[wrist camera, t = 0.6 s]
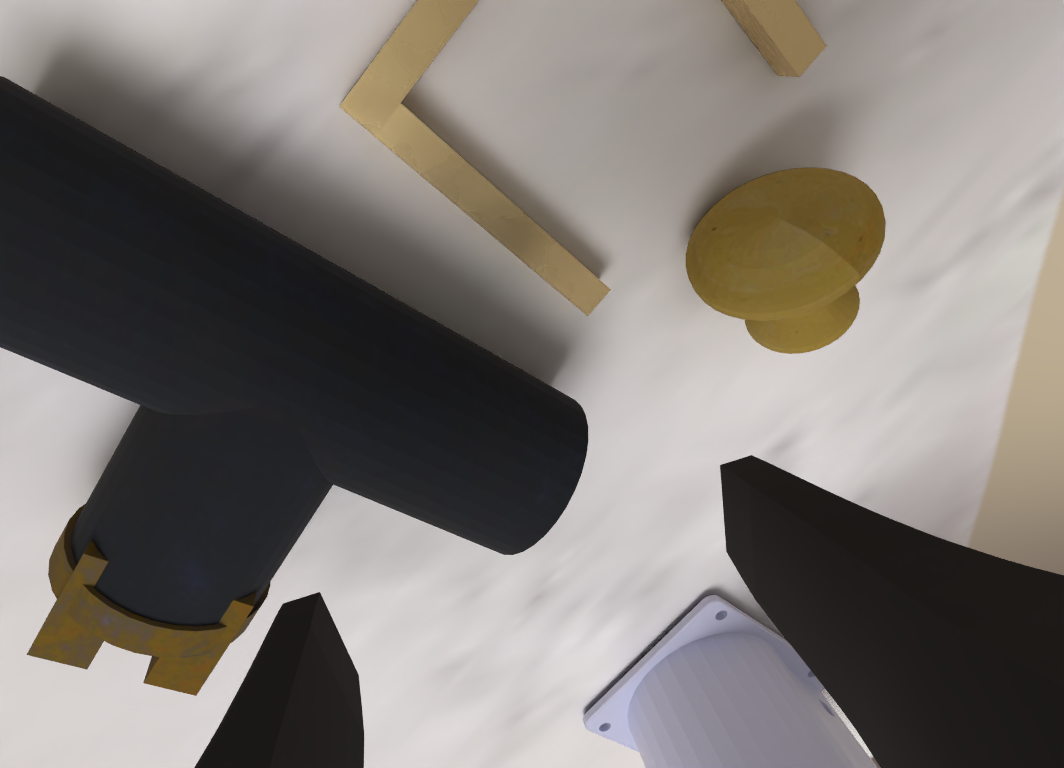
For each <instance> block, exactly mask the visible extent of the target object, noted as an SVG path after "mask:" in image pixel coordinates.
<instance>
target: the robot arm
mask: <svg viewBox="0 0 1064 768" xmlns="http://www.w3.org/2000/svg"><path fill="white" fill-rule="evenodd" d="M720 469H721V483H722V496H723V510H724V523H725V537H726V550H727V553H728V555H729V557H730V558H731V560H732V562H733V563H734V565H735V567H736V569H737V570H738V572H739V574H740V575H741V577H742V579H743V580H744V582H745V584H746V585H747V587H748V588H749V590H750V592H751V593H752V595H753V597H754V598H755V600H756V601H757V602H758V604H759V605H760V606H761V608H762V609H763V610H764V611H765V613H766V614H767V615H768V617H769V618H770V619H771V620H772V622H773V623H774V624H775V626H776V627H777V628H778V629H779V631H780V632H781V633H782V635H783V636H784V637H785V638H786V640H785V639H784V638H782V637H781V636H779V635H778V634H776V633H774V632H773V631H771V630H770V629H768V628H767V627H765V626H764V625H762V624H761V623H759V622H758V621H756V620H754V619H753V618H751V617H750V616H748V615H747V614H745V613H744V612H742V611H741V610H739V609H738V608H736V607H734V606H733V605H731V604H730V603H728V602H727V601H725V600H724V599H722V598H721V597H719V596H717V595H710V596H707V597H705V598H704V599H703V600H702V601H701V602H700V603H699V604H697V605H696V606H695V607H694V608H693V609H692V610H691V611H690V612H689V613H688V614H687V615H686V616H685V617H684V618H683V619H682V620H681V621H680V622H679V623H678V624H677V625H676V626H675V627H674V628H673V629H672V630H671V631H670V632H669V633H668V634H667V635H666V636H665V637H664V638H663V639H662V640H660V641H659V642H658V643H657V644H656V645H655V646H654V647H653V648H652V649H651V650H650V651H649V652H648V653H647V654H646V655H645V656H644V657H643V658H642V659H641V660H640V661H639V662H638V663H637V664H636V665H635V666H634V667H633V668H632V669H631V670H630V671H629V672H628V673H627V674H626V675H624V676H623V677H622V678H621V679H620V680H619V681H618V682H617V683H616V684H615V685H614V686H613V687H612V688H611V689H610V690H609V691H608V692H607V693H606V694H605V695H604V696H603V697H602V698H601V699H600V700H599V701H598V702H597V703H596V704H595V705H594V706H593V707H592V708H591V709H590V710H589V711H587V713H586V714H585V715H584V717H583V721H584V724H585V727H586V729H587V730H589V731H591V732H593V733H596V734H598V735H600V736H603V737H605V738H607V739H610V740H612V741H614V742H617V743H619V744H621V745H624V746H626V747H628V748H630V749H633V750H635V751H637V752H640V755H641V757H642V760H643V762H644V764H645V767H646V768H877V767H876V765H875V764H874V763H873V761H872V760H871V759H870V757H869V756H868V755H867V753H866V752H865V751H864V749H863V748H862V746H861V745H860V744H859V742H858V741H857V740H856V738H855V737H854V736H853V734H852V733H851V732H850V730H849V729H848V728H847V726H846V725H845V724H844V722H843V721H842V720H841V718H840V717H839V716H838V714H837V713H836V712H835V710H834V709H833V708H832V706H831V705H830V704H829V702H828V701H827V700H826V698H825V697H824V696H823V694H822V693H821V691H822V690H823V689H824V688H825V689H826V690H827V691H828V693H829V694H830V695H831V696H832V698H833V699H834V700H835V702H836V703H837V704H838V705H839V707H840V708H841V710H842V711H843V712H844V714H845V715H846V716H847V718H848V719H849V720H850V722H851V723H852V725H853V726H854V727H855V729H856V730H857V732H858V733H859V735H860V736H861V738H862V739H863V741H864V742H865V744H866V746H867V747H868V749H869V750H870V752H871V753H872V755H873V756H874V758H875V759H876V761H877V762H878V764H879V766H880V767H881V768H1064V576H1063V575H1060V574H1056V573H1052V572H1048V571H1044V570H1040V569H1036V568H1032V567H1029V566H1025V565H1022V564H1018V563H1015V562H1012V561H1008V560H1005V559H1001V558H998V557H995V556H992V555H989V554H986V553H983V552H980V551H977V550H974V549H971V548H967V547H964V546H961V545H958V544H955V543H952V542H949V541H947V540H944V539H941V538H938V537H935V536H933V535H930V534H927V533H925V532H922V531H920V530H917V529H915V528H912V527H910V526H907V525H905V524H902V523H900V522H897V521H894V520H892V519H889V518H887V517H885V516H882V515H880V514H878V513H875V512H873V511H871V510H868V509H866V508H864V507H861V506H859V505H857V504H855V503H852V502H850V501H848V500H846V499H844V498H841V497H839V496H837V495H835V494H833V493H831V492H828V491H826V490H824V489H822V488H820V487H818V486H816V485H814V484H812V483H809V482H807V481H805V480H803V479H801V478H799V477H797V476H795V475H793V474H791V473H789V472H786V471H784V470H782V469H780V468H778V467H776V466H774V465H772V464H770V463H768V462H765V461H763V460H761V459H759V458H756V457H754V456H752V455H751V456H748V457H745V458H742V459H738V460H735V461H732V462H729V463H726V464H723V465H720ZM195 768H364V728H363V716H362V705H361V695H360V685H359V676H358V673H357V671H356V669H355V666H354V664H353V662H352V660H351V658H350V656H349V654H348V651H347V649H346V647H345V645H344V643H343V641H342V639H341V636H340V634H339V632H338V630H337V628H336V626H335V624H334V621H333V619H332V617H331V615H330V613H329V611H328V609H327V606H326V604H325V602H324V600H323V598H322V596H321V594H320V592H318V593H315V594H312V595H309V596H306V597H303V598H300V599H296V600H293V601H290V602H287V603H284V604H283V605H282V606H281V608H280V610H279V611H278V613H277V615H276V617H275V619H274V621H273V623H272V625H271V627H270V629H269V631H268V633H267V635H266V637H265V639H264V641H263V643H262V645H261V647H260V649H259V651H258V653H257V655H256V657H255V659H254V661H253V663H252V665H251V667H250V669H249V671H248V673H247V675H246V677H245V679H244V681H243V683H242V684H241V686H240V688H239V690H238V692H237V694H236V696H235V697H234V699H233V701H232V703H231V705H230V707H229V709H228V710H227V712H226V714H225V716H224V718H223V720H222V722H221V723H220V725H219V727H218V729H217V731H216V732H215V734H214V736H213V738H212V739H211V741H210V743H209V744H208V746H207V748H206V749H205V751H204V753H203V754H202V756H201V758H200V759H199V761H198V763H197V764H196V766H195Z"/></svg>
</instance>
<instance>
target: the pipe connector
mask: <svg viewBox="0 0 1064 768" xmlns="http://www.w3.org/2000/svg"><path fill="white" fill-rule="evenodd" d="M0 347H1V348H4V349H6V350H9V351H11V352H13V353H16V354H18V355H21V356H23V357H26V358H28V359H30V360H33V361H35V362H38V363H40V364H43V365H45V366H47V367H50V368H52V369H55V370H57V371H60V372H62V373H64V374H67V375H69V376H72V377H74V378H77V379H79V380H81V381H84V382H86V383H89V384H91V385H94V386H96V387H98V388H101V389H103V390H106V391H108V392H111V393H113V394H115V395H118V396H120V397H123V398H125V399H128V400H130V401H132V402H135V403H137V404H140V407H139V409H138V411H137V413H136V414H135V416H134V418H133V420H132V422H131V423H130V425H129V427H128V429H127V431H126V432H125V434H124V436H123V438H122V440H121V442H120V443H119V445H118V447H117V449H116V451H115V452H114V454H113V456H112V458H111V460H110V461H109V463H108V465H107V467H106V469H105V470H104V472H103V474H102V476H101V478H100V480H99V481H98V483H97V485H96V487H95V489H94V490H93V492H92V494H91V496H90V498H89V499H88V501H87V503H86V504H85V505H83V506H82V507H80V508H79V509H78V510H77V511H76V513H75V514H74V515H73V516H72V517H71V518H70V520H69V522H68V523H67V525H66V527H65V529H64V531H63V533H62V534H61V536H60V538H59V540H58V542H57V543H56V545H55V547H54V550H53V552H52V555H51V557H50V560H49V574H48V575H49V579H50V583H51V587H52V591H53V593H54V594H55V596H56V598H57V601H56V602H55V604H54V606H53V608H52V609H51V611H50V613H49V615H48V617H47V618H46V620H45V622H44V624H43V626H42V628H41V629H40V631H39V633H38V635H37V637H36V639H35V640H34V642H33V644H32V646H31V648H30V650H29V652H28V653H27V655H30V656H34V657H38V658H42V659H47V660H51V661H55V662H59V663H63V664H67V665H71V666H75V667H80V668H84V669H88V667H89V665H90V664H91V662H92V660H93V659H94V657H95V655H96V653H97V652H98V650H99V648H100V647H101V645H102V643H103V642H104V641H106V642H107V643H109V644H111V645H114V646H116V647H119V648H122V649H125V650H128V651H131V652H134V653H139V654H144V655H150V656H152V658H151V661H150V664H149V667H148V670H147V674H146V677H145V680H144V683H146V684H150V685H154V686H158V687H162V688H166V689H170V690H175V691H179V692H183V693H187V694H191V695H195V696H196V695H197V693H198V692H199V690H200V689H201V687H202V686H203V684H204V683H205V681H206V680H207V678H208V677H209V675H210V673H211V672H212V670H213V669H214V667H215V666H216V664H217V663H218V661H219V660H220V658H221V657H222V655H223V653H224V652H225V650H226V649H227V647H228V646H229V644H230V643H231V642H233V641H234V640H235V639H236V638H238V637H239V636H240V635H241V634H242V633H243V632H244V631H245V630H246V628H247V626H248V625H249V623H250V622H251V620H252V619H253V617H254V616H255V614H256V613H257V611H258V610H259V608H260V607H261V605H262V604H263V602H264V600H265V599H266V597H267V595H268V591H269V588H270V581H271V579H272V578H273V576H274V575H275V573H276V572H277V570H278V569H279V567H280V566H281V564H282V563H283V561H284V559H285V558H286V556H287V555H288V553H289V552H290V550H291V549H292V547H293V546H294V544H295V543H296V541H297V539H298V538H299V536H300V535H301V533H302V532H303V530H304V529H305V527H306V526H307V524H308V522H309V521H310V519H311V518H312V516H313V515H314V513H315V512H316V510H317V509H318V507H319V506H320V504H321V502H322V501H323V499H324V498H325V496H326V495H327V493H328V492H329V490H330V489H331V487H332V486H333V484H334V485H336V486H339V487H341V488H343V489H346V490H348V491H351V492H353V493H356V494H358V495H360V496H363V497H365V498H368V499H370V500H373V501H375V502H377V503H380V504H382V505H385V506H387V507H390V508H392V509H394V510H397V511H399V512H402V513H404V514H407V515H409V516H411V517H414V518H416V519H419V520H421V521H424V522H426V523H428V524H431V525H433V526H436V527H438V528H440V529H443V530H445V531H448V532H450V533H453V534H455V535H457V536H460V537H462V538H465V539H467V540H470V541H472V542H474V543H477V544H479V545H482V546H484V547H487V548H489V549H491V550H494V551H496V552H499V553H501V554H504V555H514V554H517V553H520V552H523V551H525V550H527V549H528V548H530V547H532V546H533V545H535V544H536V543H537V542H538V541H539V540H540V539H541V538H543V537H544V536H545V535H546V534H547V532H548V531H549V530H550V529H551V528H552V527H553V525H554V524H555V523H556V522H557V520H558V519H559V517H560V516H561V514H562V513H563V511H564V510H565V508H566V507H567V505H568V503H569V501H570V499H571V497H572V495H573V493H574V491H575V489H576V486H577V484H578V481H579V479H580V476H581V473H582V470H583V466H584V462H585V458H586V453H587V446H588V424H587V419H586V415H585V413H584V411H583V409H582V407H581V405H580V404H578V403H577V402H576V401H575V400H574V399H572V398H570V397H569V396H567V395H565V394H563V393H561V392H560V391H558V390H556V389H554V388H553V387H551V386H549V385H547V384H546V383H544V382H542V381H540V380H538V379H537V378H535V377H533V376H531V375H530V374H528V373H526V372H524V371H523V370H521V369H519V368H517V367H516V366H514V365H512V364H510V363H508V362H507V361H505V360H503V359H501V358H500V357H498V356H496V355H494V354H493V353H491V352H489V351H487V350H485V349H484V348H482V347H480V346H478V345H477V344H475V343H473V342H471V341H470V340H468V339H466V338H464V337H462V336H461V335H459V334H457V333H455V332H454V331H452V330H450V329H448V328H447V327H445V326H443V325H441V324H440V323H438V322H436V321H434V320H432V319H431V318H429V317H427V316H425V315H424V314H422V313H420V312H418V311H417V310H415V309H413V308H411V307H409V306H408V305H406V304H404V303H402V302H401V301H399V300H397V299H395V298H394V297H392V296H390V295H388V294H387V293H385V292H383V291H381V290H379V289H378V288H376V287H374V286H372V285H371V284H369V283H367V282H365V281H364V280H362V279H360V278H358V277H356V276H355V275H353V274H351V273H349V272H348V271H346V270H344V269H342V268H341V267H339V266H337V265H335V264H333V263H332V262H330V261H328V260H326V259H325V258H323V257H321V256H319V255H318V254H316V253H314V252H312V251H311V250H309V249H307V248H305V247H303V246H302V245H300V244H298V243H296V242H295V241H293V240H291V239H289V238H288V237H286V236H284V235H282V234H280V233H279V232H277V231H275V230H273V229H272V228H270V227H268V226H266V225H265V224H263V223H261V222H259V221H257V220H256V219H254V218H252V217H250V216H249V215H247V214H245V213H243V212H242V211H240V210H238V209H236V208H235V207H233V206H231V205H229V204H227V203H226V202H224V201H222V200H220V199H219V198H217V197H215V196H213V195H212V194H210V193H208V192H206V191H204V190H203V189H201V188H199V187H197V186H196V185H194V184H192V183H190V182H189V181H187V180H185V179H183V178H181V177H180V176H178V175H176V174H174V173H173V172H171V171H169V170H167V169H166V168H164V167H162V166H160V165H159V164H157V163H155V162H153V161H151V160H150V159H148V158H146V157H144V156H143V155H141V154H139V153H137V152H136V151H134V150H132V149H130V148H128V147H127V146H125V145H123V144H121V143H120V142H118V141H116V140H114V139H113V138H111V137H109V136H107V135H105V134H104V133H102V132H100V131H98V130H97V129H95V128H93V127H91V126H90V125H88V124H86V123H84V122H83V121H81V120H79V119H77V118H75V117H74V116H72V115H70V114H68V113H67V112H65V111H63V110H61V109H60V108H58V107H56V106H54V105H52V104H51V103H49V102H47V101H45V100H44V99H42V98H40V97H38V96H37V95H35V94H33V93H31V92H30V91H28V90H26V89H24V88H22V87H21V86H19V85H17V84H15V83H14V82H12V81H10V80H8V79H7V78H5V77H1V76H0Z"/></svg>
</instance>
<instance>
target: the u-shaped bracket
mask: <svg viewBox="0 0 1064 768" xmlns="http://www.w3.org/2000/svg"><path fill="white" fill-rule="evenodd" d="M478 1H479V0H417V1H416V3H415V4H414V5H413V7H412V8H411V9H410V11H409V12H408V14H407V15H406V16H405V18H404V19H403V20H402V22H401V23H400V24H399V26H398V27H397V28H396V30H395V31H394V32H393V34H392V35H391V36H390V38H389V39H388V40H387V42H386V43H385V44H384V46H383V47H382V49H381V50H380V51H379V53H378V54H377V55H376V57H375V58H374V59H373V61H372V62H371V63H370V65H369V66H368V67H367V69H366V70H365V71H364V73H363V74H362V75H361V77H360V78H359V79H358V81H357V82H356V84H355V85H354V86H353V88H352V89H351V90H350V92H349V93H348V94H347V96H346V97H345V98H344V100H343V101H342V102H341V104H340V108H342V109H343V110H344V111H345V112H346V113H347V114H349V115H350V116H351V117H352V118H353V119H355V120H356V121H357V122H358V123H359V124H361V125H362V126H363V127H364V128H365V129H366V130H368V131H369V132H370V133H371V134H372V135H374V136H375V137H376V138H377V139H378V140H379V141H381V142H382V143H383V144H384V145H385V146H387V147H388V148H389V149H390V150H391V151H393V152H394V153H395V154H396V155H397V156H398V157H400V158H401V159H402V160H403V161H404V162H406V163H407V164H408V165H409V166H410V167H412V168H413V169H414V170H415V171H416V172H417V173H419V174H420V175H421V176H422V177H423V178H425V179H426V180H427V181H428V182H429V183H431V184H432V185H433V186H434V187H435V188H436V189H438V190H439V191H440V192H441V193H442V194H444V195H445V196H446V197H447V198H448V199H450V200H451V201H452V202H453V203H454V204H455V205H457V206H458V207H459V208H460V209H461V210H463V211H464V212H465V213H466V214H467V215H468V216H470V217H471V218H472V219H473V220H474V221H476V222H477V223H478V224H479V225H480V226H482V227H483V228H484V229H485V230H486V231H487V232H489V233H490V234H491V235H492V236H493V237H495V238H496V239H497V240H498V241H499V242H501V243H502V244H503V245H504V246H505V247H506V248H508V249H509V250H510V251H511V252H512V253H514V254H515V255H516V256H517V257H518V258H520V259H521V260H522V261H523V262H524V263H525V264H527V265H528V266H529V267H530V268H531V269H533V270H534V271H535V272H536V273H537V274H538V275H540V276H541V277H542V278H543V279H544V280H546V281H547V282H548V283H549V284H550V285H552V286H553V287H554V288H555V289H556V290H557V291H559V292H560V293H561V294H562V295H563V296H565V297H566V298H567V299H568V300H569V301H571V302H572V303H573V304H574V305H575V306H576V307H578V308H579V309H580V310H581V311H582V312H584V313H585V314H586V315H587V316H588V315H589V314H590V313H591V312H592V311H593V309H594V308H595V307H596V306H597V305H598V304H599V303H600V301H601V300H602V299H603V298H604V297H605V296H606V295H607V294H608V292H609V291H610V290H611V289H609V288H608V287H607V286H606V285H605V284H604V283H603V282H602V281H600V280H599V279H598V278H597V277H596V276H595V275H594V274H593V273H591V272H590V271H589V270H588V269H587V268H586V267H585V266H584V265H582V264H581V263H580V262H579V261H578V260H577V259H576V258H575V257H573V256H572V255H571V254H570V253H569V252H568V251H567V250H566V249H564V248H563V247H562V246H561V245H560V244H559V243H558V242H557V241H555V240H554V239H553V238H552V237H551V236H550V235H549V234H548V233H546V232H545V231H544V230H543V229H542V228H541V227H540V226H539V225H537V224H536V223H535V222H534V221H533V220H532V219H531V218H530V217H528V216H527V215H526V214H525V213H524V212H523V211H522V210H521V209H519V208H518V207H517V206H516V205H515V204H514V203H513V202H512V201H510V200H509V199H508V198H507V197H506V196H505V195H504V194H503V193H501V192H500V191H499V190H498V189H497V188H496V187H495V186H494V185H492V184H491V183H490V182H489V181H488V180H487V179H486V178H485V177H483V176H482V175H481V174H480V173H479V172H478V171H477V170H476V169H474V168H473V167H472V166H471V165H470V164H469V163H468V162H467V161H465V160H464V159H463V158H462V157H461V156H460V155H459V154H458V153H456V152H455V151H454V150H453V149H452V148H451V147H450V146H449V145H447V144H446V143H445V142H444V141H443V140H442V139H441V138H440V137H438V136H437V135H436V134H435V133H434V132H433V131H432V130H431V129H429V128H428V127H427V126H426V125H425V124H424V123H423V122H422V121H420V120H419V119H418V118H417V117H416V116H415V115H414V114H413V113H411V112H410V111H409V110H408V109H407V108H406V107H405V106H404V105H402V104H401V102H402V100H403V99H404V98H405V96H406V95H407V94H408V93H409V91H410V90H411V89H412V87H413V86H414V85H415V83H416V82H417V81H418V79H419V78H420V77H421V75H422V74H423V73H424V72H425V70H426V69H427V68H428V66H429V65H430V64H431V62H432V61H433V60H434V58H435V57H436V56H437V54H438V53H439V52H440V51H441V49H442V48H443V47H444V45H445V44H446V43H447V41H448V40H449V39H450V37H451V36H452V35H453V34H454V32H455V31H456V30H457V28H458V27H459V26H460V24H461V23H462V22H463V20H464V19H465V18H466V16H467V15H468V14H469V13H470V11H471V10H472V9H473V7H474V6H475V5H476V3H477V2H478ZM722 1H723V3H724V4H725V5H726V7H727V8H728V9H729V11H730V12H731V13H732V15H733V16H734V17H735V19H736V20H737V21H738V23H739V24H740V25H741V27H742V28H743V29H744V31H745V32H746V33H747V35H748V36H749V37H750V39H751V40H752V41H753V43H754V44H755V45H756V47H757V48H758V49H759V51H760V52H761V53H762V55H763V56H764V57H765V59H766V60H767V61H768V63H769V64H770V65H771V67H772V68H773V69H774V71H775V72H776V73H777V75H778V76H791V77H800V76H801V74H802V73H803V72H804V71H805V70H806V69H807V68H808V67H809V65H810V64H811V63H812V62H813V61H814V60H815V59H816V57H817V56H818V55H819V54H820V53H821V52H822V51H823V50H824V48H825V47H826V44H825V43H824V41H823V40H822V39H821V37H820V36H819V34H818V33H817V31H816V30H815V28H814V27H813V25H812V24H811V23H810V21H809V20H808V18H807V17H806V15H805V14H804V12H803V11H802V9H801V8H800V7H799V5H798V4H797V2H796V1H795V0H722Z"/></svg>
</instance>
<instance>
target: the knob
mask: <svg viewBox="0 0 1064 768" xmlns="http://www.w3.org/2000/svg"><path fill="white" fill-rule="evenodd" d="M884 238H885V217H884V212H883V208H882V205H881V203H880V201H879V200H878V198H877V196H876V194H875V193H874V192H873V191H872V190H871V189H870V187H869V186H868V185H867V184H865V183H864V182H862V181H861V180H859V179H858V178H856V177H854V176H851V175H849V174H847V173H844V172H841V171H836V170H832V169H825V168H794V169H789V170H783V171H778V172H775V173H771V174H768V175H764V176H762V177H759V178H757V179H754V180H752V181H750V182H748V183H746V184H744V185H742V186H740V187H738V188H737V189H735V190H734V191H732V192H731V193H729V194H728V195H726V196H725V197H723V198H722V199H721V200H720V201H719V202H718V203H717V204H715V205H714V206H713V207H712V208H711V209H710V210H709V211H708V212H707V214H706V215H705V216H704V217H703V218H702V219H701V221H700V222H699V224H698V225H697V227H696V228H695V230H694V232H693V234H692V236H691V238H690V241H689V243H688V247H687V252H686V269H687V273H688V278H689V280H690V282H691V284H692V286H693V288H694V290H695V292H696V293H697V294H698V295H699V296H700V298H701V299H702V300H703V301H704V302H705V303H706V304H708V305H709V306H711V307H712V308H713V309H715V310H717V311H719V312H721V313H724V314H726V315H728V316H732V317H736V318H740V319H745V324H746V327H747V330H748V332H749V333H750V335H751V336H752V338H753V339H754V340H755V341H756V342H758V343H759V344H761V345H762V346H763V347H766V348H768V349H770V350H773V351H776V352H780V353H789V354H792V353H804V352H810V351H813V350H817V349H820V348H822V347H824V346H826V345H829V344H830V343H832V342H834V341H835V340H837V339H838V338H839V337H841V336H842V335H843V334H844V333H845V332H846V331H847V330H848V329H849V327H850V326H851V325H852V323H853V321H854V320H855V318H856V316H857V313H858V310H859V303H860V299H859V292H858V290H857V288H856V286H855V285H856V284H857V283H858V282H859V281H860V280H861V279H862V278H863V277H864V276H865V275H866V273H867V272H868V271H869V270H870V269H871V267H872V266H873V264H874V262H875V261H876V259H877V257H878V255H879V254H880V251H881V248H882V245H883V242H884Z"/></svg>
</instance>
